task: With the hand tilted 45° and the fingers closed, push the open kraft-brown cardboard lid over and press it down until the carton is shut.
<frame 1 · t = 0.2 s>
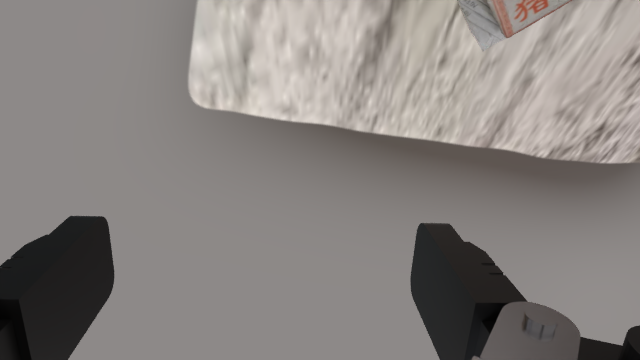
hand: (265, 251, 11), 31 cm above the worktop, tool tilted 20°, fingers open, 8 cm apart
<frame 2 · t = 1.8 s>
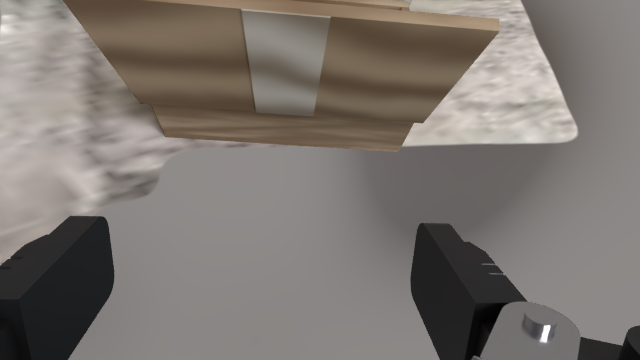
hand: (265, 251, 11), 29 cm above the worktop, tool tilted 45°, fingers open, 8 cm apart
carton: (288, 88, 48), on the worktop
carton lid: (285, 69, 32), point 14 cm above the worktop, hinge at 100.0°
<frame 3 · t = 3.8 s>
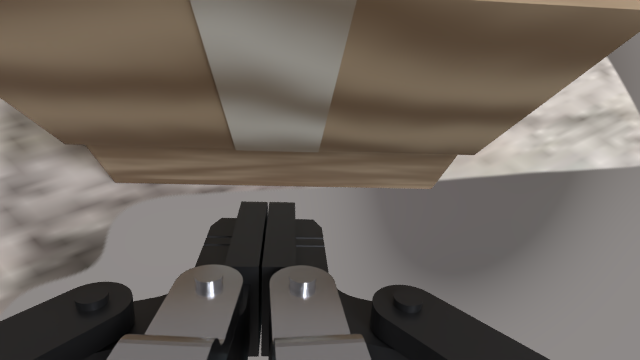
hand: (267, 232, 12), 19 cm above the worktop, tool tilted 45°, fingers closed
carton: (280, 109, 36), on the worktop
carton lid: (276, 90, 20), point 14 cm above the worktop, hinge at 100.0°
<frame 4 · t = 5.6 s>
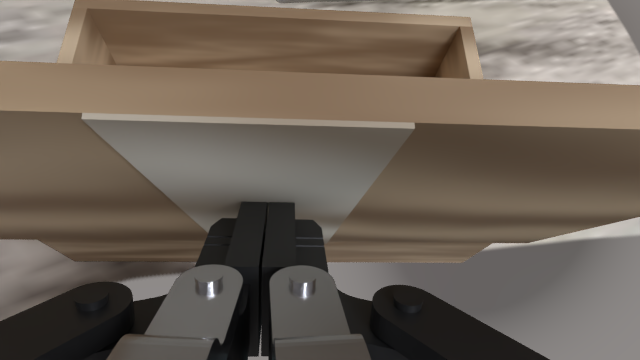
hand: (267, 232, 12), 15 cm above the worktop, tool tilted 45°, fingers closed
carton: (278, 161, 30), on the worktop
carton lid: (268, 200, 14), point 14 cm above the worktop, hinge at 99.3°, touching gripper
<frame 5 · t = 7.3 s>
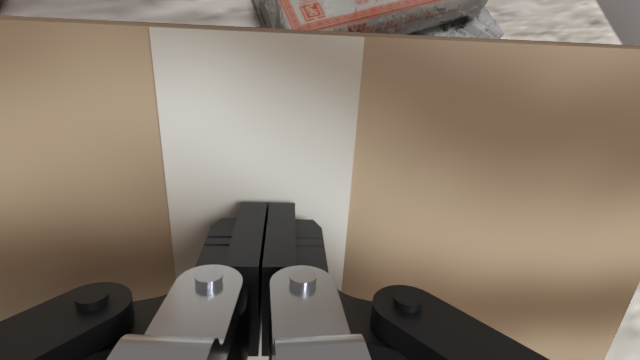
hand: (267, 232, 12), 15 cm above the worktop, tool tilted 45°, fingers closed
packaged product: (374, 29, 36), on the worktop
carton lid: (261, 271, 14), point 13 cm above the worktop, hinge at 49.3°, touching gripper
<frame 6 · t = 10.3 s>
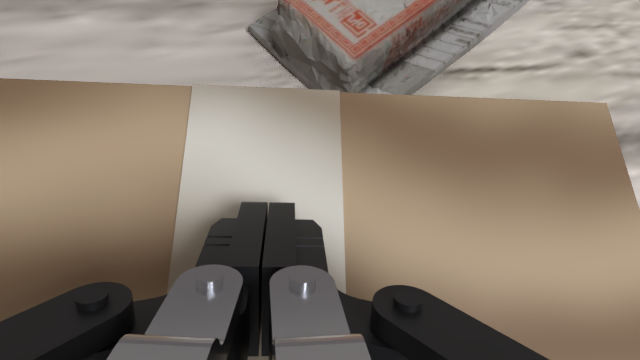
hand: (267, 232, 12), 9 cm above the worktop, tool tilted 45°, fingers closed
packaged product: (399, 21, 30), on the worktop
carton lid: (258, 306, 13), point 8 cm above the worktop, hinge at 2.4°, touching gripper
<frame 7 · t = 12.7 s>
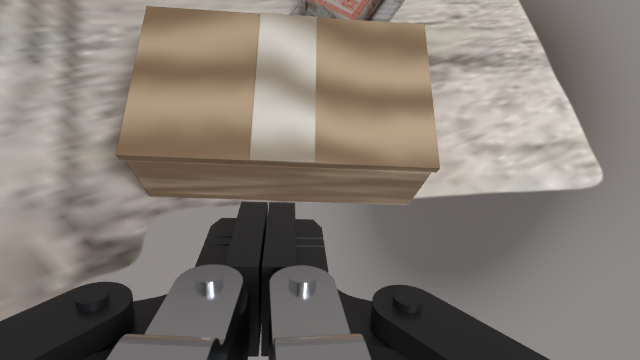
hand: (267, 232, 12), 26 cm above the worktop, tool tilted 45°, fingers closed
carton: (284, 135, 44), on the worktop
carton lid: (285, 85, 37), point 8 cm above the worktop, hinge at 2.4°
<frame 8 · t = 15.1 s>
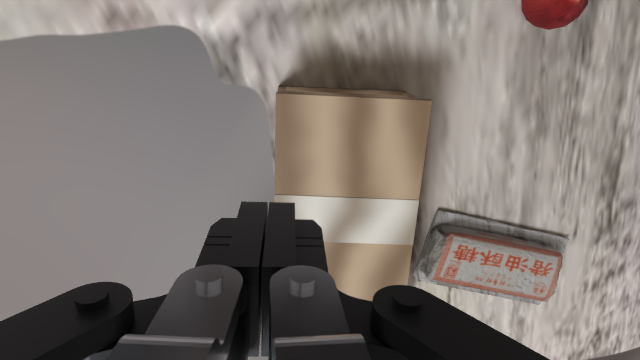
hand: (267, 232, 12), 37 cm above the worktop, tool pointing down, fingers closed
carton: (335, 190, 52), on the worktop
packaged product: (486, 253, 57), on the worktop
carton lid: (345, 218, 45), point 8 cm above the worktop, hinge at 2.4°
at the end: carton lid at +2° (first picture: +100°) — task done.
